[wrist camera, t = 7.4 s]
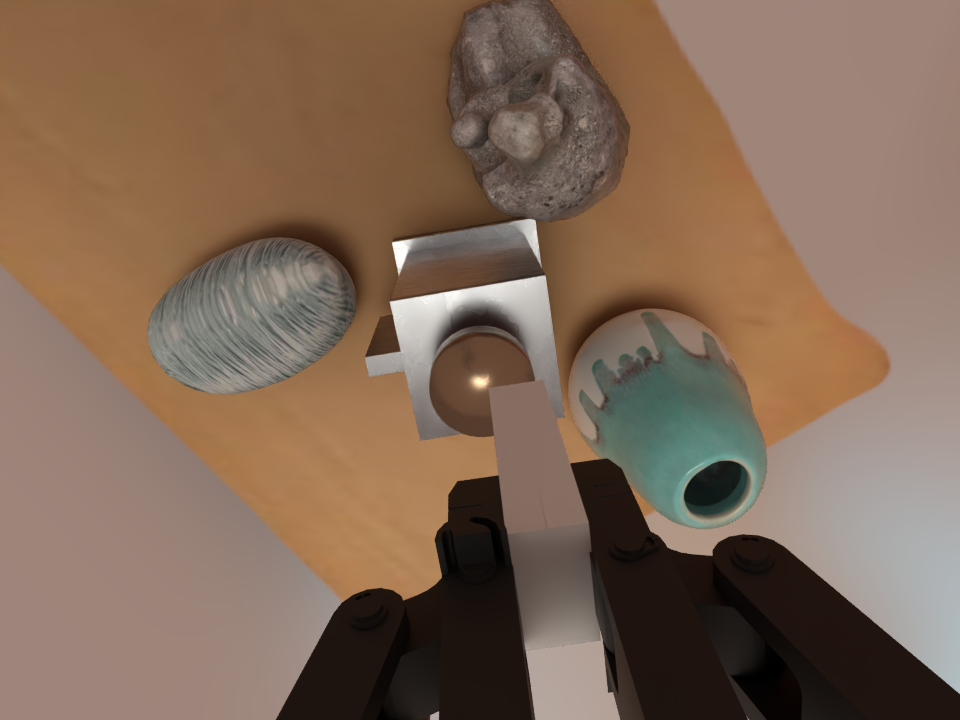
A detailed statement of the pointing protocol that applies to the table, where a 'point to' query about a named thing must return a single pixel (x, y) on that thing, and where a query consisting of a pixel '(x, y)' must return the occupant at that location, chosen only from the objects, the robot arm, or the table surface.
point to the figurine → (533, 112)
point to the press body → (464, 306)
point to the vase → (670, 415)
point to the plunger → (475, 376)
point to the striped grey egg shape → (252, 316)
